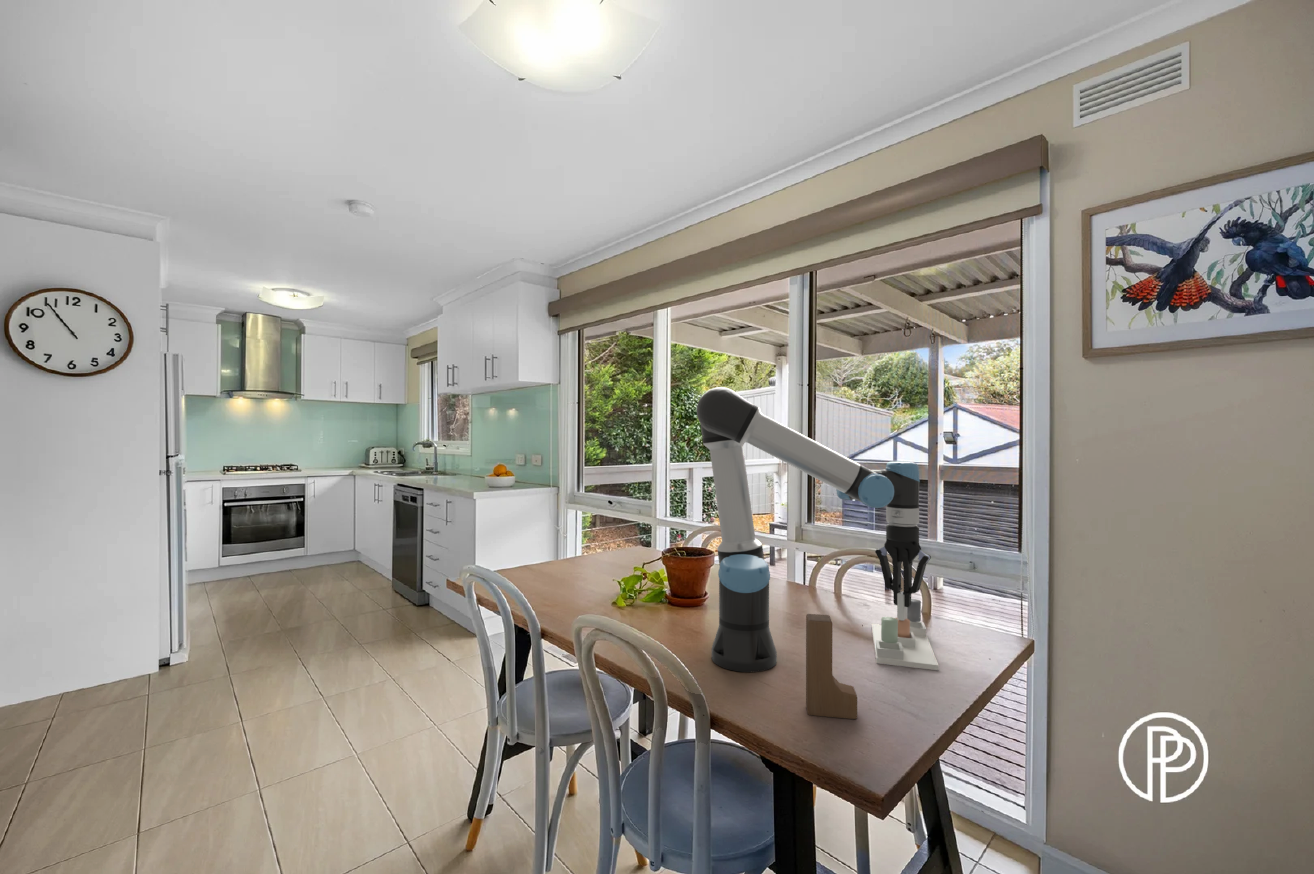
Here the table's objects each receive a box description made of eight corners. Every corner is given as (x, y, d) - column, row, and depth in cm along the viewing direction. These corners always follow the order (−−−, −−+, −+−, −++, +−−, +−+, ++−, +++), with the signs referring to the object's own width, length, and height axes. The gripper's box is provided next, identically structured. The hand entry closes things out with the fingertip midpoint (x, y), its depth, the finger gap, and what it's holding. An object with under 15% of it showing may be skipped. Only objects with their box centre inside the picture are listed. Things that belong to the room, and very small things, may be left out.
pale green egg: (881, 642, 133) (881, 620, 133) (880, 636, 137) (880, 616, 137) (898, 643, 132) (898, 622, 132) (897, 638, 136) (897, 617, 135)
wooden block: (853, 708, 110) (854, 615, 110) (857, 720, 106) (858, 623, 106) (805, 704, 112) (806, 613, 112) (807, 715, 107) (807, 620, 107)
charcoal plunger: (906, 621, 148) (906, 601, 148) (904, 616, 152) (905, 598, 152) (921, 622, 147) (921, 603, 147) (919, 618, 150) (919, 599, 150)
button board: (876, 663, 132) (876, 649, 132) (871, 627, 156) (871, 616, 156) (938, 670, 128) (938, 656, 128) (923, 633, 152) (923, 621, 152)
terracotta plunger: (894, 641, 141) (894, 621, 141) (893, 636, 144) (893, 616, 144) (910, 643, 140) (910, 622, 140) (908, 638, 143) (909, 618, 143)
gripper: (870, 523, 143) (870, 616, 143) (925, 528, 134) (925, 628, 135) (881, 519, 149) (881, 609, 149) (935, 525, 140) (935, 620, 140)
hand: (902, 618), depth 142 cm, fingers closed
